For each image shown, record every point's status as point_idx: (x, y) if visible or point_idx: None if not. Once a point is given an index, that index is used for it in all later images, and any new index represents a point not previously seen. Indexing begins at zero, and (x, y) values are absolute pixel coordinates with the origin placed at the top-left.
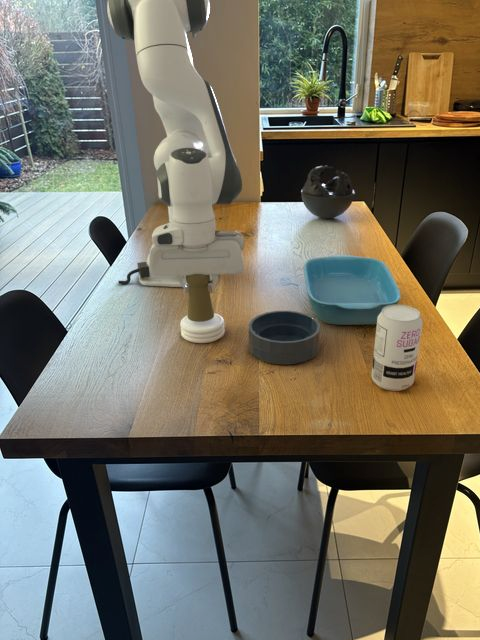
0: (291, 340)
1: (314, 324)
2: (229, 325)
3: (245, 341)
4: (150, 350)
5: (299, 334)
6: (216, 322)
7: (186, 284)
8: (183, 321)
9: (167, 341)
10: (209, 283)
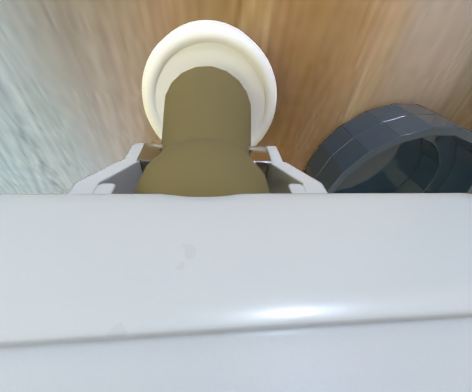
0: (396, 151)
1: (463, 181)
2: (290, 39)
3: (306, 139)
4: (100, 162)
5: (425, 142)
6: (253, 122)
7: (141, 165)
8: (153, 110)
9: (124, 125)
10: (260, 164)
